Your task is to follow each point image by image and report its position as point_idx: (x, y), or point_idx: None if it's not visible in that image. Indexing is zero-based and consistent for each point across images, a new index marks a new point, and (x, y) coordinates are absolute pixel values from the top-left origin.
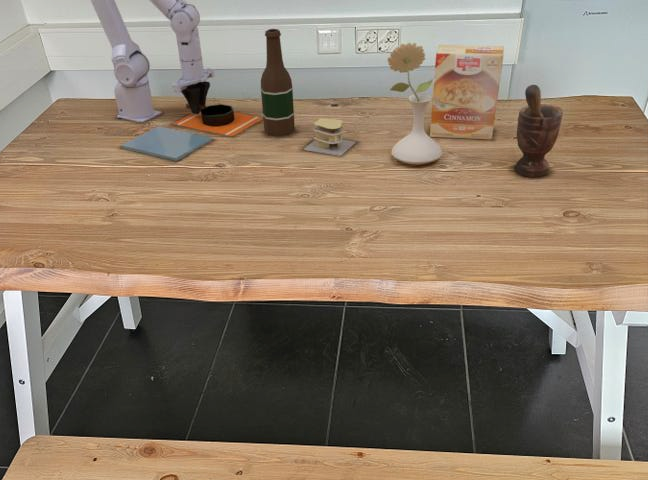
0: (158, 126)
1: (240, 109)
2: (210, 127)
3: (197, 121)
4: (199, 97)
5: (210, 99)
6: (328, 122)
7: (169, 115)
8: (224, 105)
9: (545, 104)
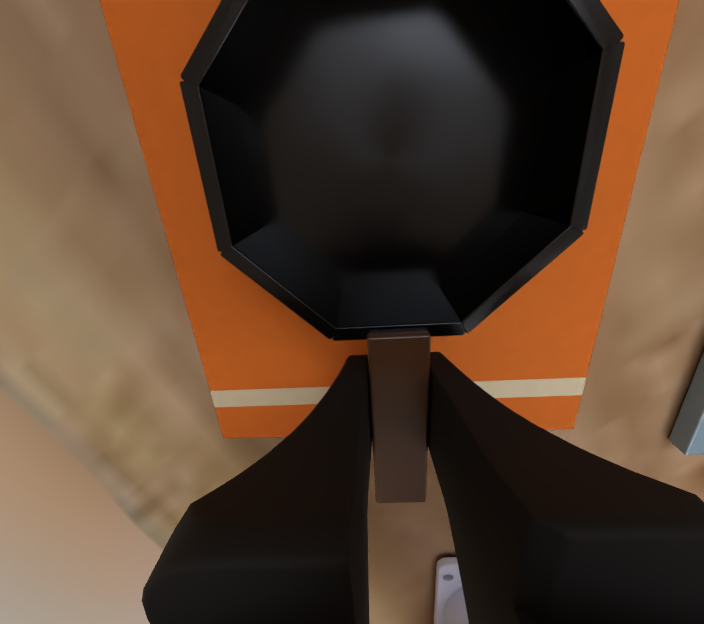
0: (692, 453)
1: (60, 196)
2: None
3: None
4: (363, 465)
5: (113, 488)
6: None
7: (437, 516)
8: (223, 193)
9: None
